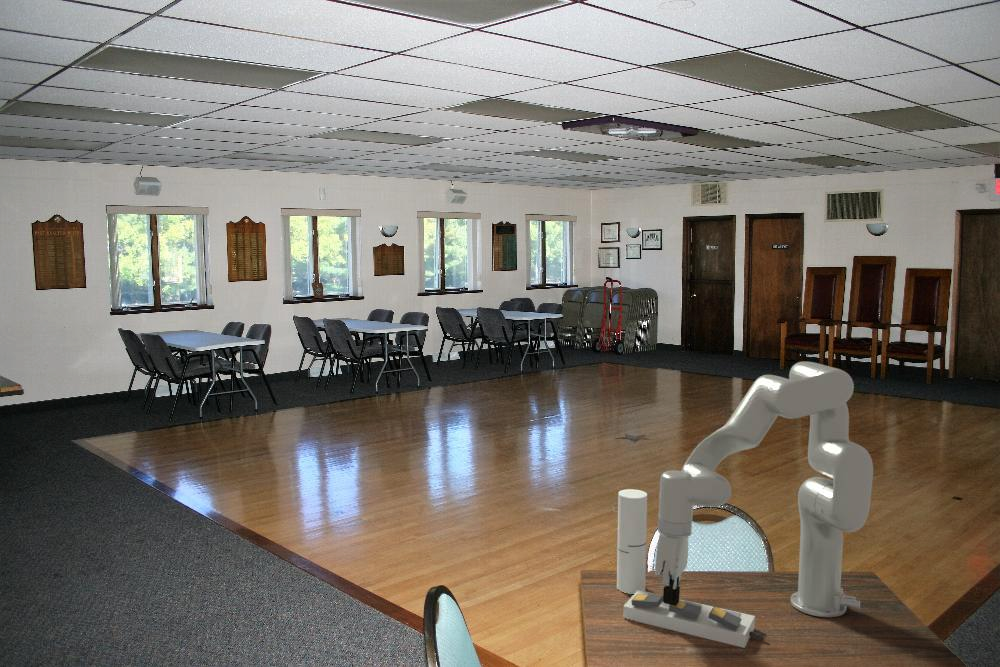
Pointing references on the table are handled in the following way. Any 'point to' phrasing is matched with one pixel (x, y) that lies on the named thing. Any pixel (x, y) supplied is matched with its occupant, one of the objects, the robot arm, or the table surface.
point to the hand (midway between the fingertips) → (670, 602)
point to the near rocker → (725, 618)
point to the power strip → (693, 622)
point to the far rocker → (647, 600)
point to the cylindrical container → (631, 540)
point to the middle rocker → (686, 609)
